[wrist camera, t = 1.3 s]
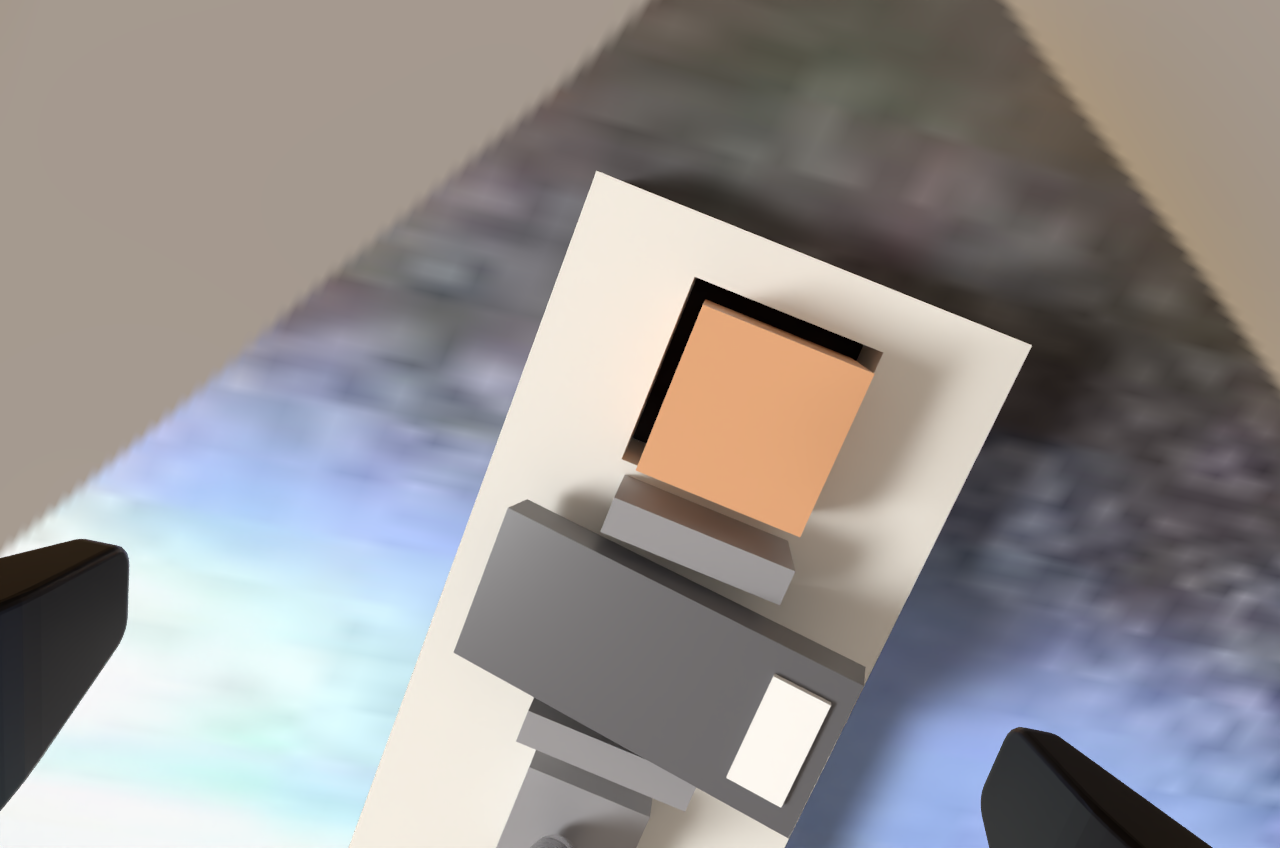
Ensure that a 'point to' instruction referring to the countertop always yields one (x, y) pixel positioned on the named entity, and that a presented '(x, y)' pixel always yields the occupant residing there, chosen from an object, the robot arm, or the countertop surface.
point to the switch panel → (678, 524)
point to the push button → (754, 418)
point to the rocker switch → (660, 664)
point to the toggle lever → (553, 842)
